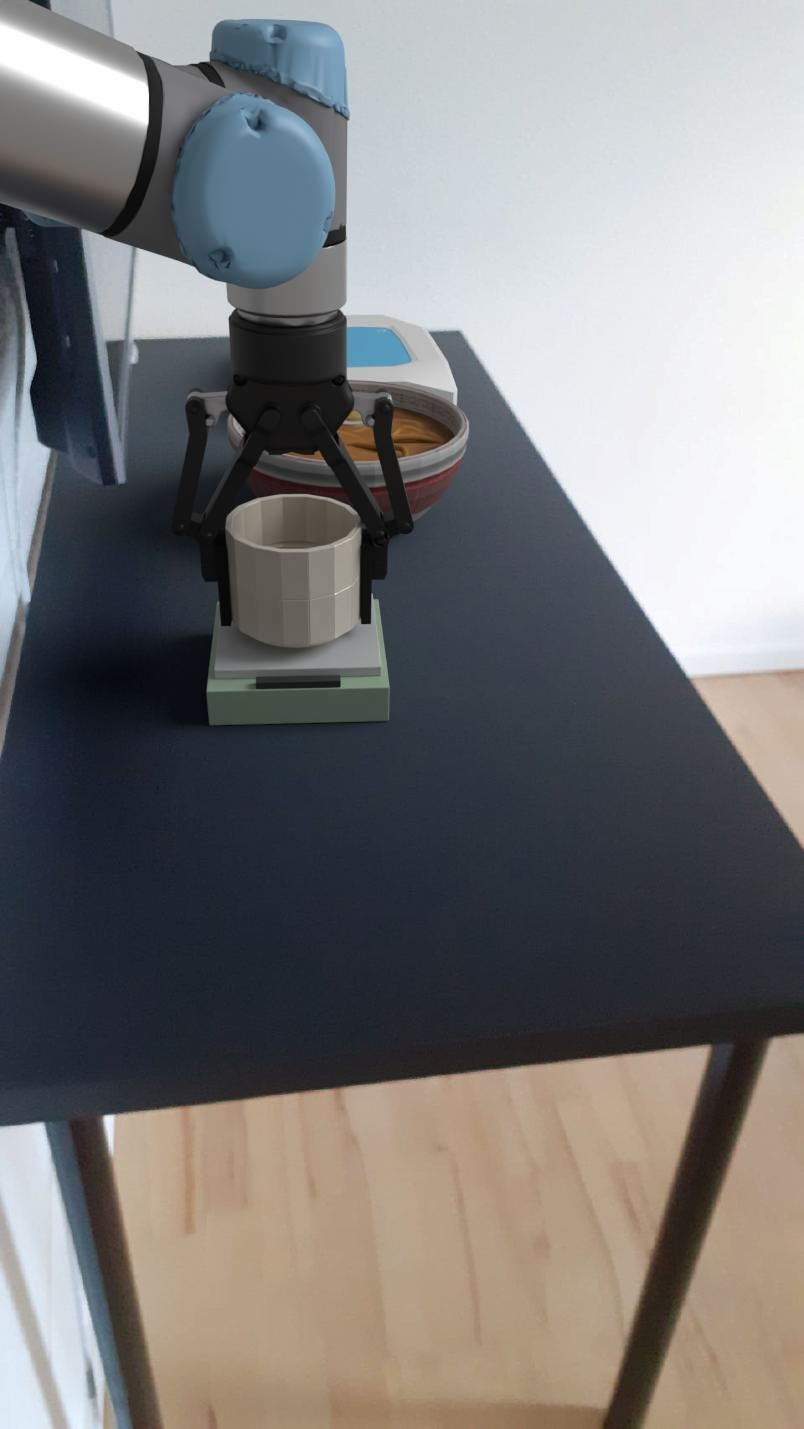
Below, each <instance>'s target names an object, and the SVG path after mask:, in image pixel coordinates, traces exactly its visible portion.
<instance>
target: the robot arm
mask: <svg viewBox="0 0 804 1429" xmlns="http://www.w3.org/2000/svg"><path fill="white" fill-rule="evenodd" d="M210 48H211V49H210V51H209V54H208V55H209V61H200V62H198V63H189V64H183V65H182V64H179V65H178V64H171V63H169V62H167V61H164V60H162V59H160V58H157V57H155V56H152V55H148V54H145V53H143V52H140V51H138V50H135V48H134V46H131V45H129V44H127V43H125V42H123V41H120V40H118V39H116V38H114V37H111V36H109V35H108V34H105V33H102V32H100V31H98V30H97V29H93V28H92V27H89V26H86V25H84V24H82V23H80V22H77V21H75V20H73V19H71V18H68V17H66V16H64V15H62V14H60V13H58V12H55V11H53V10H51V9H48V8H46V7H44V6H41V5H39V4H37V3H35V2H33V1H31V0H0V204H2V205H6V206H8V207H12V208H15V209H18V210H21V211H22V212H23V213H24V214H25V216H26V217H27V218H28V219H29V220H30V221H31V222H32V223H34V224H36V225H37V226H40V227H45V228H71V227H72V228H73V227H74V228H77V229H79V230H84V231H87V232H91V233H92V234H93V233H94V234H97V235H99V236H102V237H104V238H105V239H109V240H111V241H115V242H117V243H120V244H124V245H127V246H130V247H133V248H137V249H140V250H142V251H146V252H148V253H152V254H155V255H158V256H161V257H165V258H167V259H171V260H175V261H177V262H180V263H183V264H186V265H188V266H189V267H190V266H191V267H193V268H195V269H196V271H197V273H199V274H201V275H202V276H205V278H208V279H210V280H213V281H216V282H221V283H225V284H226V286H225V287H226V300H227V303H228V304H229V305H231V307H233V308H234V309H233V310H232V311H231V314H229V316H228V334H229V336H228V337H229V350H230V351H229V352H230V353H229V354H230V368H231V370H230V371H231V380H230V382H229V385H228V387H227V388H226V390H225V391H211V392H205V391H204V390H203V389H202V388H200V387H192V388H190V390H188V393H187V397H186V402H185V405H184V411H185V417H186V424H187V428H188V434H189V435H188V439H187V443H186V449H185V454H184V460H183V464H182V470H181V475H180V479H179V485H178V489H177V496H176V501H175V505H174V511H173V514H172V520H171V525H170V531H171V533H172V534H173V535H174V536H177V537H184V536H187V537H190V538H192V539H194V540H196V542H197V543H198V546H199V547H198V548H199V559H200V569H201V577H202V579H203V580H204V582H205V583H213V582H214V583H215V582H216V583H217V591H218V602H219V606H220V620H221V626H231V623H232V619H231V608H230V593H229V579H228V564H227V549H226V536H225V529H222V527H223V525H224V523H226V518H227V516H228V515H229V514H230V513H231V511H232V509H233V507H234V505H235V503H236V501H237V499H238V497H239V495H240V494H241V492H242V490H243V488H244V486H245V484H246V483H247V482H246V480H247V479H248V477H249V475H250V473H251V471H252V469H253V468H254V467H255V466H256V464H257V462H258V460H259V458H260V457H261V455H262V453H263V451H266V452H269V455H282V454H286V453H290V452H293V453H297V454H301V455H315V452H317V451H320V453H321V455H322V456H323V458H324V460H325V462H326V463H327V465H328V466H329V467H330V468H331V469H332V471H333V473H334V474H335V476H336V478H337V479H338V481H339V483H340V484H341V486H342V488H343V490H344V491H345V493H346V495H347V496H348V498H349V500H350V501H351V503H352V505H353V506H354V508H355V510H356V512H357V513H358V515H359V517H360V518H361V520H362V522H363V523H364V525H365V527H366V529H362V550H361V618H360V619H361V624H371V600H372V594H373V593H372V589H373V581H374V580H375V581H379V580H380V581H381V580H383V581H384V580H385V579H386V577H387V575H388V559H389V558H388V557H389V556H388V555H389V551H388V550H389V543H390V540H391V539H392V538H393V537H395V536H397V535H400V534H401V535H409V534H411V533H412V532H413V531H414V529H415V524H414V521H413V518H412V513H411V509H410V505H409V501H408V497H407V493H406V489H405V485H404V481H403V477H402V473H401V469H400V465H399V461H398V457H397V453H396V449H395V445H394V441H393V437H392V434H391V430H392V421H393V412H394V407H393V402H392V397H391V394H390V392H389V391H388V390H387V389H384V388H382V389H378V390H377V391H376V392H375V393H365V392H353V390H352V388H351V386H350V385H349V383H348V380H347V318H346V316H345V315H346V314H344V312H343V311H342V310H341V309H342V308H343V307H345V305H346V304H347V302H348V237H347V224H348V223H347V222H348V220H347V219H348V218H347V216H348V214H347V212H348V211H347V208H348V205H347V204H348V203H347V202H348V122H349V121H350V119H351V118H350V116H351V113H350V109H349V96H348V76H347V75H348V74H347V73H348V72H347V67H346V58H345V57H346V56H345V54H346V52H345V44H344V42H343V39H342V37H341V35H340V33H339V32H338V31H337V30H336V29H335V28H333V27H332V26H331V25H329V24H327V23H323V22H319V21H310V20H309V21H308V20H299V19H298V20H295V19H274V18H273V19H272V18H241V19H233V18H232V19H223V20H220V21H219V22H217V23H216V24H215V25H214V27H213V29H212V33H211V46H210ZM352 410H354V411H357V412H358V413H359V414H360V415H361V418H362V422H363V424H364V425H365V426H367V427H370V428H372V429H373V435H374V440H375V445H376V449H377V453H378V457H379V461H380V465H381V468H382V472H383V476H384V480H385V484H386V487H387V491H388V495H389V499H390V503H391V506H392V510H393V511H391V512H388V513H385V514H383V512H382V510H381V509H380V507H379V505H378V503H377V502H376V500H375V498H374V497H373V495H372V493H371V491H370V490H369V488H368V486H367V484H366V483H365V481H364V479H363V477H362V476H361V474H360V472H359V470H358V469H357V467H356V465H355V463H354V462H353V460H352V458H351V456H350V455H349V453H348V451H347V449H346V448H345V446H344V443H343V441H342V439H341V437H340V435H339V433H338V432H337V431H338V429H339V428H340V427H341V425H342V424H343V423H344V421H345V420H346V419H347V417H348V416H349V414H350V413H351V412H352ZM226 411H228V412H229V414H230V413H231V415H232V416H233V417H234V418H235V420H236V421H237V422H238V423H239V425H240V426H241V427H242V428H243V430H244V431H245V433H244V435H243V437H242V439H241V441H240V444H239V446H238V448H237V450H236V452H235V454H234V453H233V456H232V457H231V460H230V462H229V464H228V466H227V468H226V470H225V471H224V474H223V476H222V477H221V479H220V481H219V483H218V485H217V487H216V489H215V491H214V493H213V495H212V497H211V498H210V500H209V502H208V504H207V505H206V508H205V510H204V512H203V514H200V513H197V512H193V510H194V505H195V500H196V495H197V491H198V486H199V481H200V477H201V472H202V468H203V462H204V458H205V453H206V448H207V444H208V437H209V432H210V431H209V430H210V428H214V427H216V426H217V425H218V424H219V421H220V416H221V414H222V413H224V412H226Z"/></svg>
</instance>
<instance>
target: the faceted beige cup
mask: <svg viewBox="0 0 804 1429" xmlns="http://www.w3.org/2000/svg"><path fill="white" fill-rule="evenodd" d="M224 530H225V536H226V549H227V564H228V579H229V593H230V608H231V619H232V621H233V622H234V623H235V625H236V626H237V627H238V629H239V630H240V631H241V632H243V633H245V634H247V635H249V636H251V637H253V638H255V639H256V640H259V641H261V642H263V643H266V644H270V645H274V646H280V647H292V648H298V647H310V646H316V645H320V644H324V643H327V642H330V641H332V640H334V639H336V638H338V637H339V636H341V635H343V634H344V633H346V632H348V631H350V630H351V629H353V627H354V626H355V625H356V623H357V622H358V621H359V619H360V618H361V550H362V524H361V518H360V517H359V515H358V513H357V512H356V511H355V510H354V509H353V508H351V507H350V506H349V505H347V504H344V503H342V502H339V501H337V500H334V499H332V498H327V497H321V496H315V495H309V494H279V495H273V496H268V497H262V498H257V497H256V498H254V499H252V500H249V501H247V502H245V503H242V504H239V505H237V506H236V507H235V508H233V510H231V511H230V512H229V514H228V516H227V518H226V520H225V526H224Z"/></svg>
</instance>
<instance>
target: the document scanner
mask: <svg viewBox="0 0 804 1429" xmlns="http://www.w3.org/2000/svg"><path fill="white" fill-rule="evenodd" d="M344 315H345V316H346V318H347V380H365V381H377V382H386V383H392V384H398V385H403V386H409V387H413V388H416V389H420V390H424V391H427V392H430V393H432V394H435V395H438V396H440V397H443V398H444V399H446V400H448V401H450V402H451V403H453V404H455V405H456V406H457V407H458V387H457V385H456V382H455V379H454V376H453V372H452V370H451V366H450V364H449V362H448V359H447V358H446V357H445V355H444V354H443V352H442V350H441V349H440V347H439V346H438V345H437V343H436V341H435V339H434V338H433V337H432V335H431V334H430V332H429V331H428V329H427V328H425V327H423V326H420V325H416V324H413V323H410V322H407V321H403V320H401V319H397V318H394V317H390V316H389V315H385V314H344Z"/></svg>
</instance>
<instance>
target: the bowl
mask: <svg viewBox="0 0 804 1429" xmlns="http://www.w3.org/2000/svg"><path fill="white" fill-rule="evenodd" d="M348 383H349V385H350V386H351V388H352V390H353V392H365V393H375V392H376V391H377V390H378V389H382V388H384V389H387V390H388V391H389V392H390V394H391V397H392V402H393V407H394V412H393V421H392V430H391V434H392V437H393V441H394V445H395V449H396V453H397V457H398V461H399V465H400V469H401V473H402V477H403V481H404V485H405V489H406V493H407V497H408V501H409V505H410V509H411V513H412V518H413V522H415V521H417V520H418V519H420V518H422V517H423V516H424V515H425V514H426V513H427V512H428V511H429V510H430V509H431V508H432V507H433V506H434V505H435V504H436V503H437V502H438V501H439V500H441V498H443V496H444V494H445V492H447V490H448V489H449V487H450V485H451V484H452V482H453V481H454V480H455V477H456V475H457V474H458V471H459V469H460V466H461V464H462V462H463V456H464V455H465V453H466V451H467V445H468V440H469V433H470V421H469V419H468V418H467V416H466V414H465V412H464V411H463V410H461V408H459V407H458V405H457V406H456V405H455V404H453V403H451V402H450V401H448V400H446V399H444V398H443V397H440V396H438V395H435V394H432V393H430V392H427V391H424V390H420V389H416V388H413V387H409V386H403V385H398V384H392V383H386V382H377V381H365V380H348ZM226 429H227V436H228V441H229V448H230V450H231V451H232V454H233V455H234V454H235V452H236V450H237V448H238V446H239V444H240V441H241V439H242V437H243V435H244V433H245V431H244V430H243V428H242V427H241V426H240V425H239V423H238V422H237V421H236V420H235V418H234V417H233V416H232V415H231V413H230V412H229V414H228V417H227V418H226ZM337 432H338V433H339V435H340V437H341V439H342V441H343V443H344V446H345V448H346V449H347V451H348V453H349V455H350V456H351V458H352V460H353V462H354V463H355V465H356V467H357V469H358V470H359V472H360V474H361V476H362V477H363V479H364V481H365V483H366V484H367V486H368V488H369V490H370V491H371V493H372V495H373V497H374V498H375V500H376V502H377V503H378V505H379V507H380V509H381V510H382V512H383V514H385V513H388V512H391V511H393V510H392V506H391V503H390V499H389V495H388V491H387V487H386V484H385V480H384V476H383V472H382V468H381V465H380V461H379V457H378V453H377V449H376V445H375V440H374V435H373V429H372V428H370V427H367V426H365V425H364V424H363V422H362V418H361V415H360V414H359V413H358V412H357V411H354V410H352V412H351V413H350V414H349V416H348V417H347V419H346V420H345V421H344V423H343V424H342V425H341V427H340V428H339V429H338V431H337ZM245 483H246V484H247V485H248V487H249V488H250V490H251V491H252V493H253V494H254V496H255V497H256V499H257V498H262V497H268V496H273V495H279V494H309V495H315V496H321V497H327V498H332V499H334V500H337V501H339V502H342V503H344V504H347V505H349V506H350V507H351V508H353V509H354V510H355V508H354V506H353V505H352V503H351V501H350V500H349V498H348V496H347V495H346V493H345V491H344V490H343V488H342V486H341V484H340V483H339V481H338V479H337V478H336V476H335V474H334V473H333V471H332V469H331V468H330V467H329V466H328V465H327V463H326V462H325V460H324V458H323V456H322V455H321V453H320V451H317V452H315V455H301V454H297V453H293V452H290V453H286V454H282V455H269V452H266V451H263V453H262V455H261V457H260V458H259V460H258V462H257V464H256V466H255V467H254V468H253V469H252V471H251V473H250V475H249V477H248V479H247V480H246V482H245ZM355 511H356V510H355ZM361 524H362V529H366V527H365V525H364V523H363V522H362V520H361Z"/></svg>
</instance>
